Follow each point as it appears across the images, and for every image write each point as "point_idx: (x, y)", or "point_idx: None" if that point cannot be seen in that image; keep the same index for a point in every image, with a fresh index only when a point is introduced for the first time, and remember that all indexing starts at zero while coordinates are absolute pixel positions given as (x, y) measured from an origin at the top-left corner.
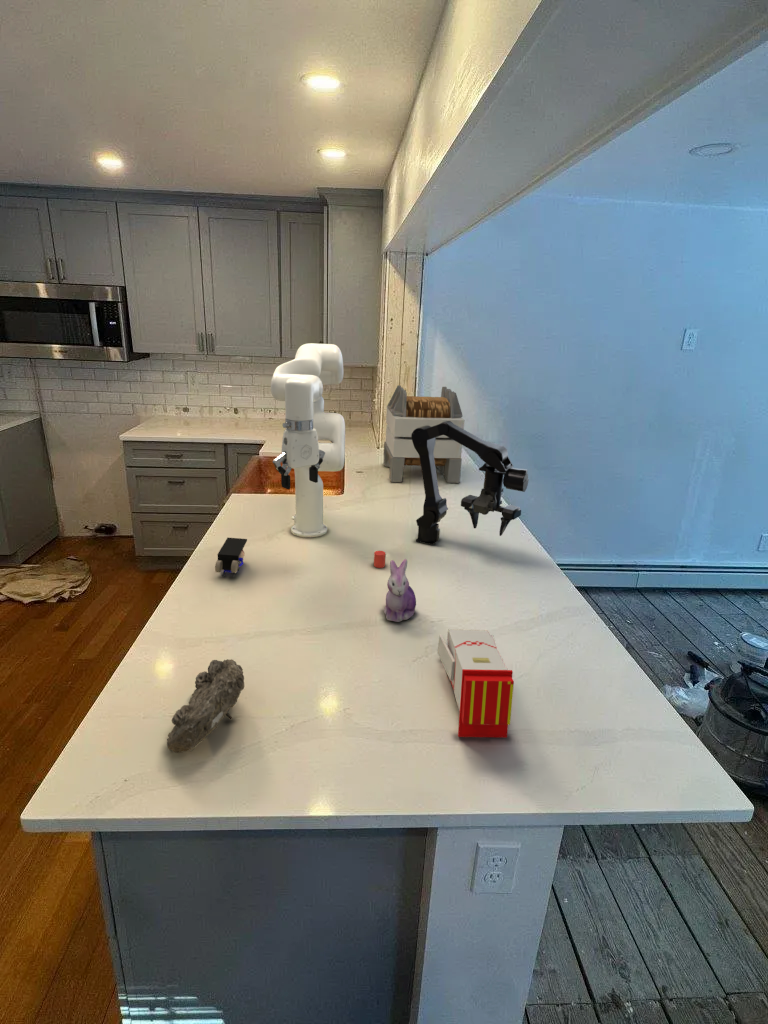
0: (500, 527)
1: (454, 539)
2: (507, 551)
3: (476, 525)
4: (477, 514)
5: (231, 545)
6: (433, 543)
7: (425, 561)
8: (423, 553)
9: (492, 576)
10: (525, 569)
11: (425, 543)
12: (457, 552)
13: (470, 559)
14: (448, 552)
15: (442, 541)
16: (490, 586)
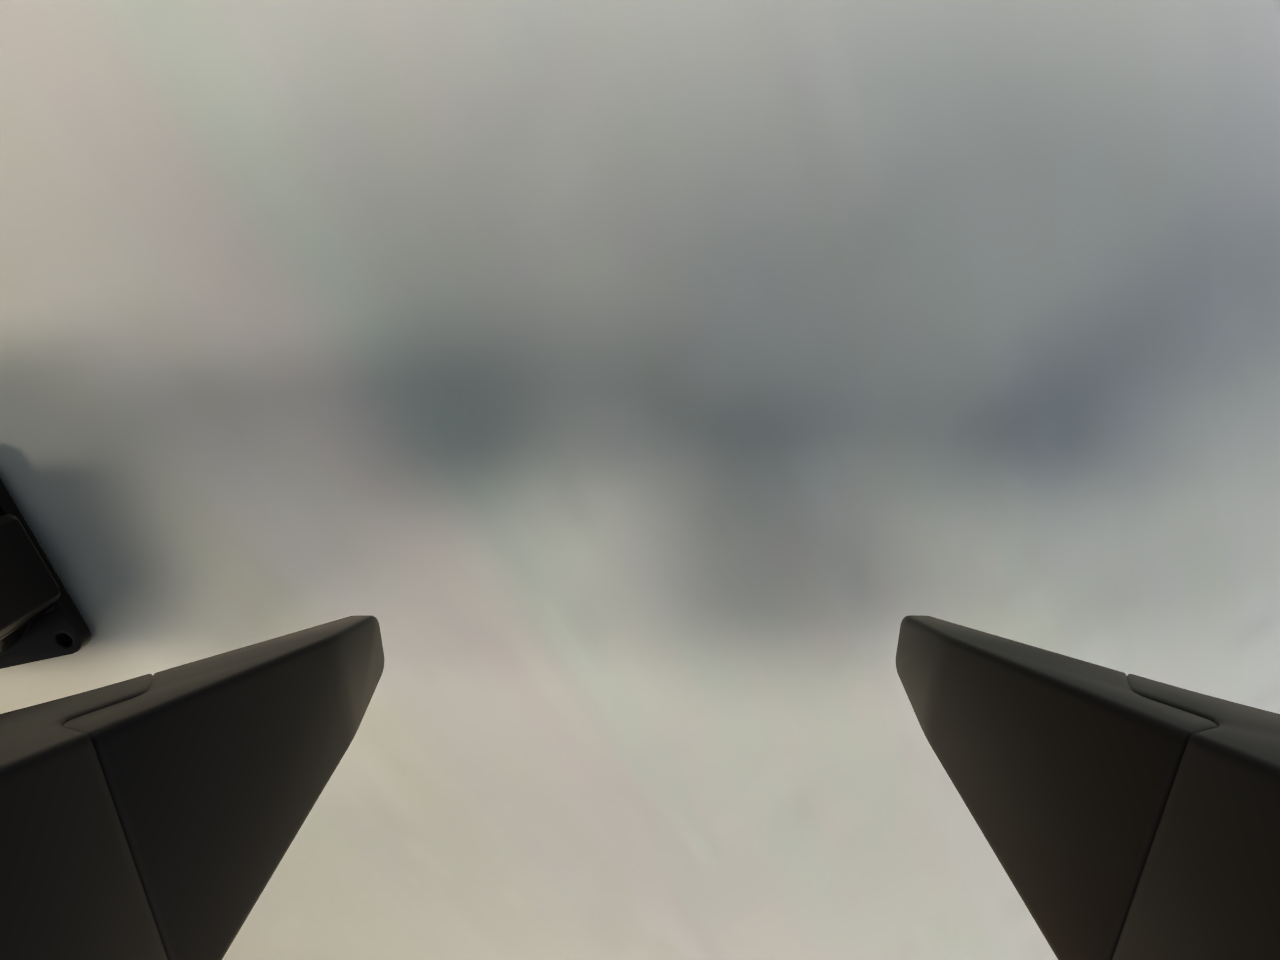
0: (990, 840)
1: (95, 314)
2: (817, 182)
3: (359, 651)
4: (174, 789)
5: None
6: (75, 638)
7: (325, 921)
8: None
9: (904, 825)
10: (1147, 523)
11: (15, 661)
12: (387, 616)
13: (583, 671)
14: None
15: (62, 474)
16: (949, 953)
